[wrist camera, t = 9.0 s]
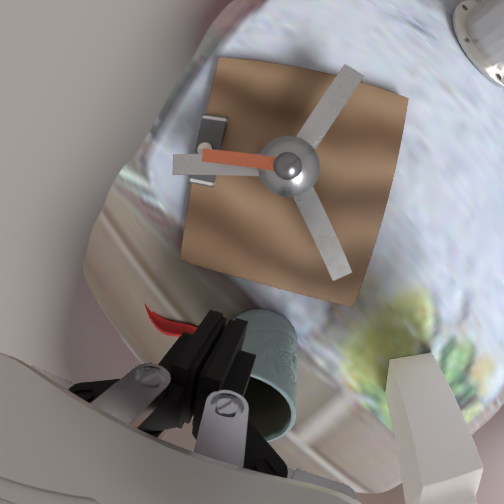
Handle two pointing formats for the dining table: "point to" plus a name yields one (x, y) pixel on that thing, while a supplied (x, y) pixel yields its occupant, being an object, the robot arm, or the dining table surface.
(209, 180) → the level window
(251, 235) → the board
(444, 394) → the milk
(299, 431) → the dining table surface
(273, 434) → the grey-green cup
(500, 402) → the dining table surface
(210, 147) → the level ball
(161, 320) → the cayenne pepper
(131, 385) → the robot arm
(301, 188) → the capstan
